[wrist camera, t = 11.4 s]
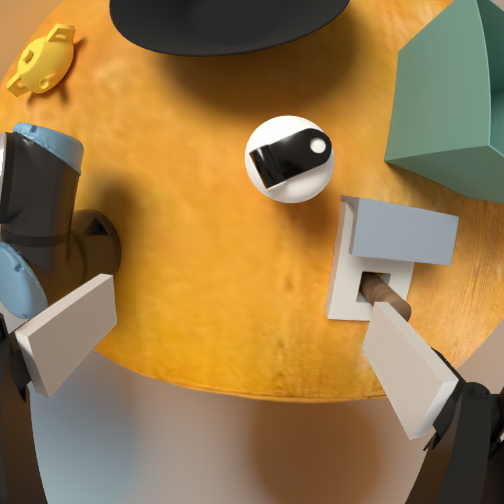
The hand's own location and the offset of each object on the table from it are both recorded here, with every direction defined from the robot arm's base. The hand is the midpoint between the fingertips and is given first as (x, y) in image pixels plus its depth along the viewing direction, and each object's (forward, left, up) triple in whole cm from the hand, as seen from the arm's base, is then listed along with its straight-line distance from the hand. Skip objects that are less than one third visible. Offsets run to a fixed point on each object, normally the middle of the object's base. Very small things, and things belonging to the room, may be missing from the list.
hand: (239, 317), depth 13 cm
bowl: (-7, +39, -33) cm, 52 cm away
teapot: (-47, +32, -33) cm, 66 cm away
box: (+32, +23, -33) cm, 51 cm away
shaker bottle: (+3, +9, -33) cm, 34 cm away
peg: (+20, -8, -33) cm, 39 cm away
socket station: (+20, -4, -33) cm, 39 cm away
